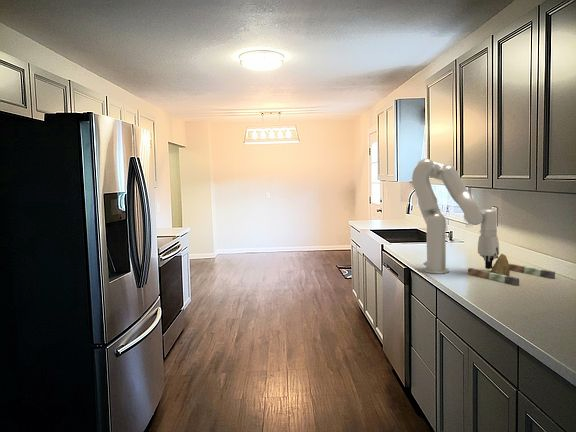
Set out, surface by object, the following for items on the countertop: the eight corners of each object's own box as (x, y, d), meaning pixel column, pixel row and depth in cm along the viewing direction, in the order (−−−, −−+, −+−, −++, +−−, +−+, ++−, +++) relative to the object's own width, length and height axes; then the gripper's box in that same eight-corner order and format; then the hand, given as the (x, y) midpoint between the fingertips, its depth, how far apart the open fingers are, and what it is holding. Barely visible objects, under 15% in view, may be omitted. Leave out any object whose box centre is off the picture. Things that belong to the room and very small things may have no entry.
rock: (516, 272, 216) (514, 265, 225) (504, 258, 217) (503, 252, 226) (496, 283, 221) (495, 276, 230) (485, 270, 222) (484, 263, 231)
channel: (468, 274, 226) (468, 268, 225) (504, 268, 236) (504, 262, 236) (516, 285, 200) (516, 279, 200) (554, 278, 210) (555, 271, 210)
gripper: (471, 232, 233) (472, 266, 235) (495, 235, 220) (495, 271, 221) (482, 231, 236) (482, 265, 238) (506, 234, 223) (506, 270, 224)
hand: (488, 268), depth 230 cm, fingers closed
